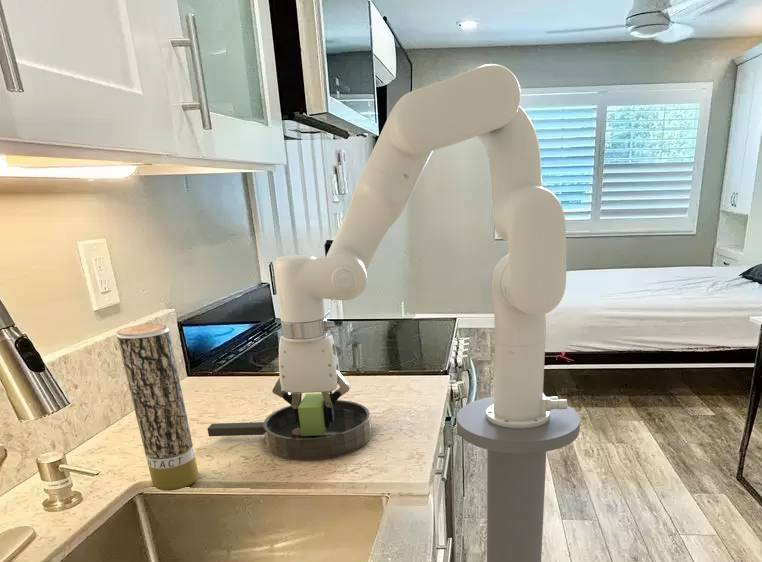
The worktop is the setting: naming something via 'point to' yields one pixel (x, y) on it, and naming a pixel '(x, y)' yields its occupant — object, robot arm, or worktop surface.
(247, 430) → the pan handle
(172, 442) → the paper tube
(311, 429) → the sponge
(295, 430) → the brown disc
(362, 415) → the pan
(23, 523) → the worktop surface
